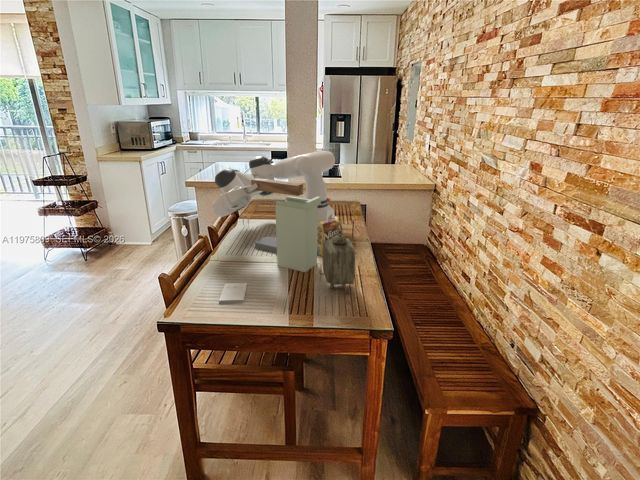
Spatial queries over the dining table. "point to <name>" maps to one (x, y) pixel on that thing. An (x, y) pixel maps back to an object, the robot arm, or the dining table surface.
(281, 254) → the shelf block
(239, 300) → the external hard drive
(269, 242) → the grey board
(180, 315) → the dining table surface
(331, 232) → the candy box
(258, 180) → the slim box
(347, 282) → the grey-green rolling suitcase
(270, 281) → the dining table surface
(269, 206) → the dining table surface
